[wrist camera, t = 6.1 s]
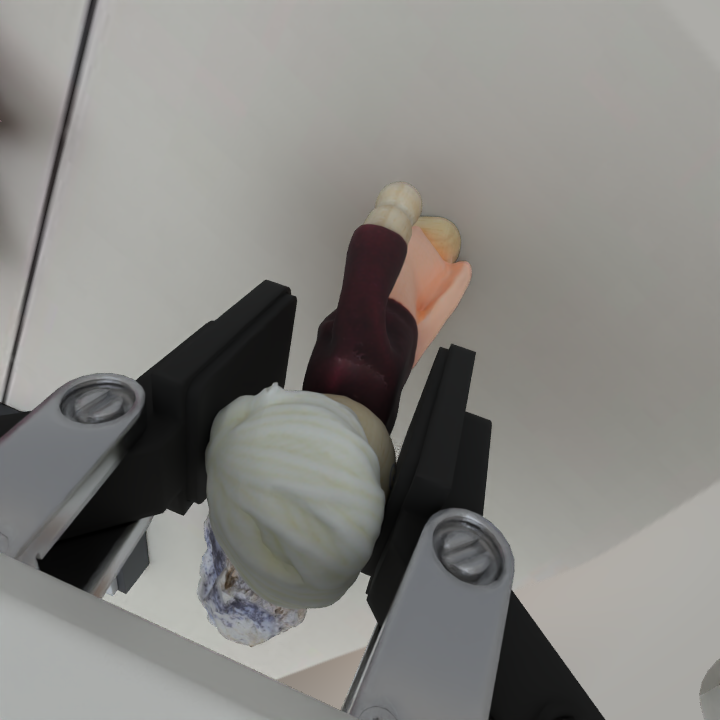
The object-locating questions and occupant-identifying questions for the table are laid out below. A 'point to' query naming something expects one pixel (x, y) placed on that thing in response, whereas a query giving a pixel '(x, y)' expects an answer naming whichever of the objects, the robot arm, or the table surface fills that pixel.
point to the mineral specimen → (238, 600)
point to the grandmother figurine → (334, 416)
